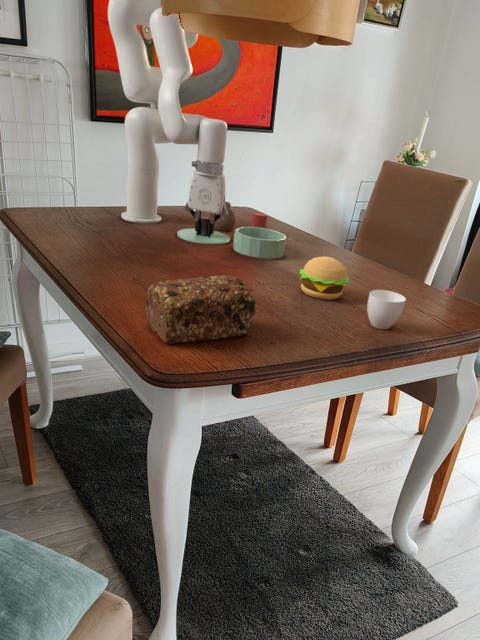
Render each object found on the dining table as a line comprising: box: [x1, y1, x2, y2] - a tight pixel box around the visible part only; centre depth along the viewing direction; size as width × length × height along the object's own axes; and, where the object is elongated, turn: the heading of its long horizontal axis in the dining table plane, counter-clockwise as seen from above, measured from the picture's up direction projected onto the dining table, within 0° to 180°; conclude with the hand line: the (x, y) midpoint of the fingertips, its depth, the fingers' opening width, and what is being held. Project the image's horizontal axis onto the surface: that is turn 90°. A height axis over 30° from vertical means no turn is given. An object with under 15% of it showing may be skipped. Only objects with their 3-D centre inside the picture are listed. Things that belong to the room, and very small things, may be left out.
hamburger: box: [299, 256, 350, 301], centre depth 139 cm, size 12×12×9 cm
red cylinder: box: [251, 212, 268, 229], centre depth 182 cm, size 4×4×7 cm
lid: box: [176, 216, 231, 246], centre depth 171 cm, size 16×16×6 cm
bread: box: [145, 274, 257, 345], centre depth 109 cm, size 19×11×10 cm, turn 118°
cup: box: [366, 289, 407, 330], centre depth 126 cm, size 8×10×7 cm
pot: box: [232, 226, 288, 260], centre depth 166 cm, size 15×15×6 cm
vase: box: [214, 201, 236, 233], centre depth 183 cm, size 7×7×9 cm
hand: (204, 234), depth 172 cm, fingers closed on lid, 2 cm apart
